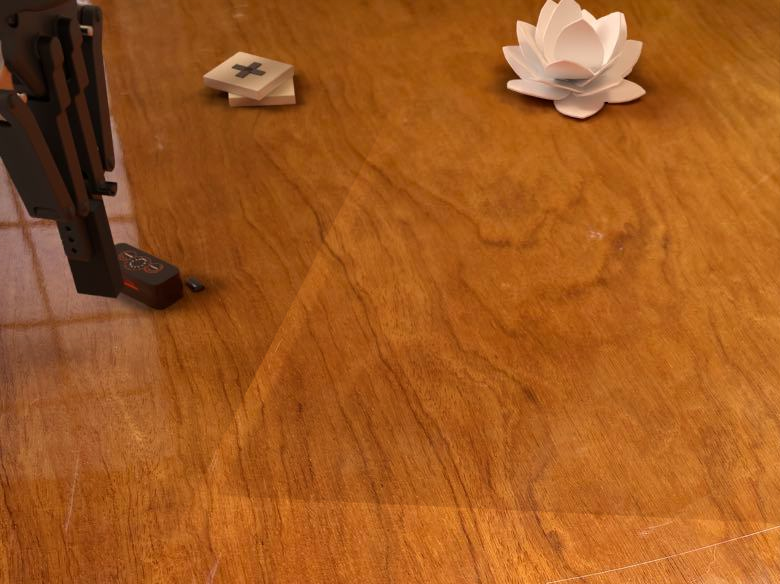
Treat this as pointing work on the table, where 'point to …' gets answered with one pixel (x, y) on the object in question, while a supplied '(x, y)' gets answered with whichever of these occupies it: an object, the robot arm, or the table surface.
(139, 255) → the brown electronic gadget
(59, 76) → the robot arm
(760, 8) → the table surface
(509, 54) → the lotus flower
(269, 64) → the tile pile
